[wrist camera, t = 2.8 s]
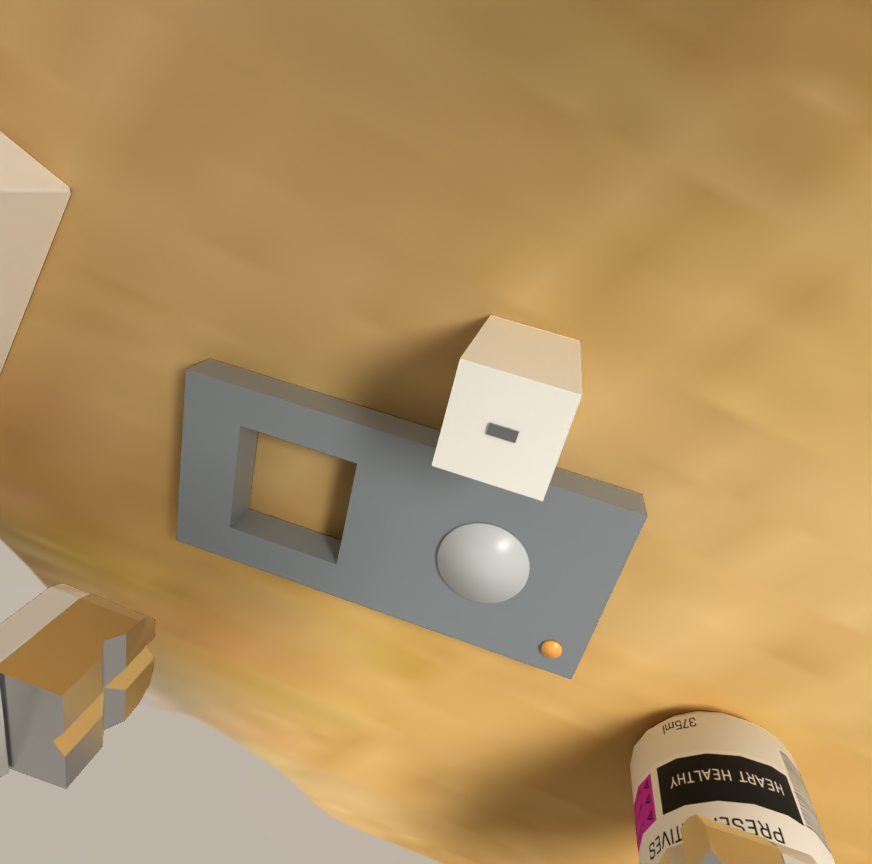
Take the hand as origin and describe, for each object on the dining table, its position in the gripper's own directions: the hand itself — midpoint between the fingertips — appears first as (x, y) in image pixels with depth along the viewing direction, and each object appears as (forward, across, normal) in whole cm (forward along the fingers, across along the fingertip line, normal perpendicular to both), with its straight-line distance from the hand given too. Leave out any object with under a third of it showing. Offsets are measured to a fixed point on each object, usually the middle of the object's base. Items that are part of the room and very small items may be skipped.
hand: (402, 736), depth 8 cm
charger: (+19, 0, 0) cm, 19 cm away
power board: (+19, +4, +9) cm, 22 cm away
